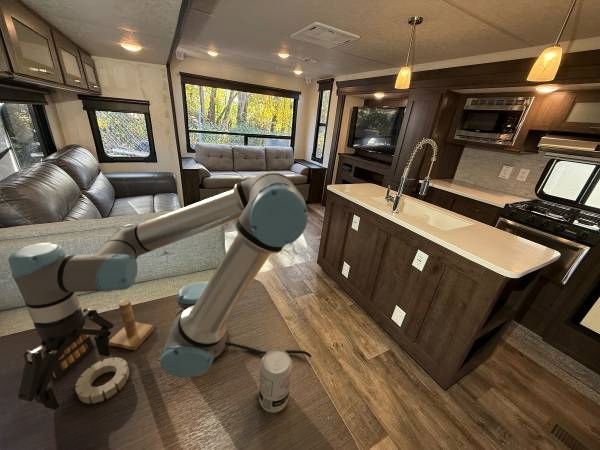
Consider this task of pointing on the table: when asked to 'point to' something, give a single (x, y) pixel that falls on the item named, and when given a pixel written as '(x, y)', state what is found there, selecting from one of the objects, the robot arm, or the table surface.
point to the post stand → (130, 329)
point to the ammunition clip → (72, 355)
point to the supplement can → (275, 380)
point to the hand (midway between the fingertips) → (81, 378)
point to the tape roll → (106, 390)
